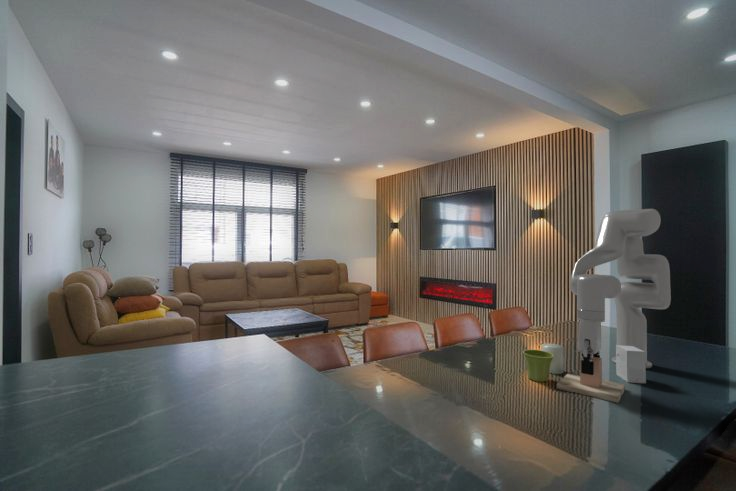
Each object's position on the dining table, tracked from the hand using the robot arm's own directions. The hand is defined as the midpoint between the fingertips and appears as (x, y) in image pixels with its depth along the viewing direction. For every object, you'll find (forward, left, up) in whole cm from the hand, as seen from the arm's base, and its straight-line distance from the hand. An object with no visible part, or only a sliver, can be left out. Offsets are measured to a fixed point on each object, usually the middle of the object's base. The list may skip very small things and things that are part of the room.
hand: (590, 370), depth 114 cm
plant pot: (+2, -15, -6) cm, 16 cm away
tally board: (0, 0, -6) cm, 6 cm away
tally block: (0, 0, -4) cm, 4 cm away
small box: (-20, +8, -6) cm, 22 cm away
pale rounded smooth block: (-11, -14, -6) cm, 19 cm away
